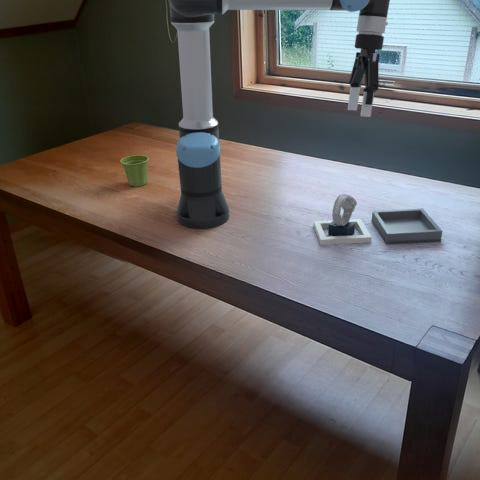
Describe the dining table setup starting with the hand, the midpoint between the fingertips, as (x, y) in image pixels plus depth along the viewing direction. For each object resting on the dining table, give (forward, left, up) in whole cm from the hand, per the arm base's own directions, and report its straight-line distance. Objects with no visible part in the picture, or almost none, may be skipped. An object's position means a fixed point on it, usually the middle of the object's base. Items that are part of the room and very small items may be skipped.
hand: (358, 113), depth 149 cm
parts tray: (+8, -26, -25) cm, 37 cm away
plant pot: (-69, +19, -26) cm, 76 cm away
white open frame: (-9, -26, -25) cm, 37 cm away
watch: (-9, -26, -26) cm, 38 cm away
